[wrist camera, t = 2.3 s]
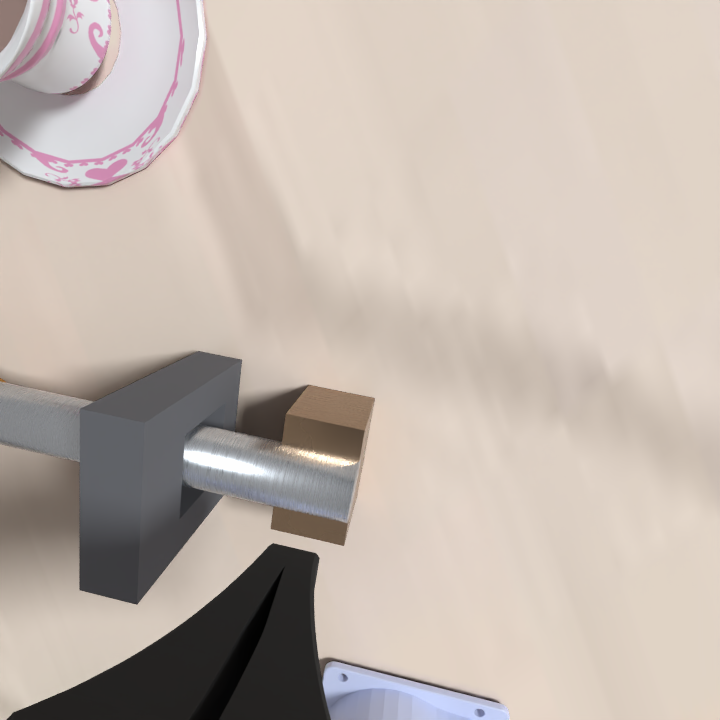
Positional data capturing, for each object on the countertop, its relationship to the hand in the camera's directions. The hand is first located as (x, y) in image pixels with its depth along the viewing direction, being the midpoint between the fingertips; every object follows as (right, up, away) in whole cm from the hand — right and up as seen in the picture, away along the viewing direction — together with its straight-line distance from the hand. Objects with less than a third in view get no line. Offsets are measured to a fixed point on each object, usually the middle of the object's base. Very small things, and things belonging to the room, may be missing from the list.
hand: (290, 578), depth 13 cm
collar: (-5, +3, +9) cm, 11 cm away
